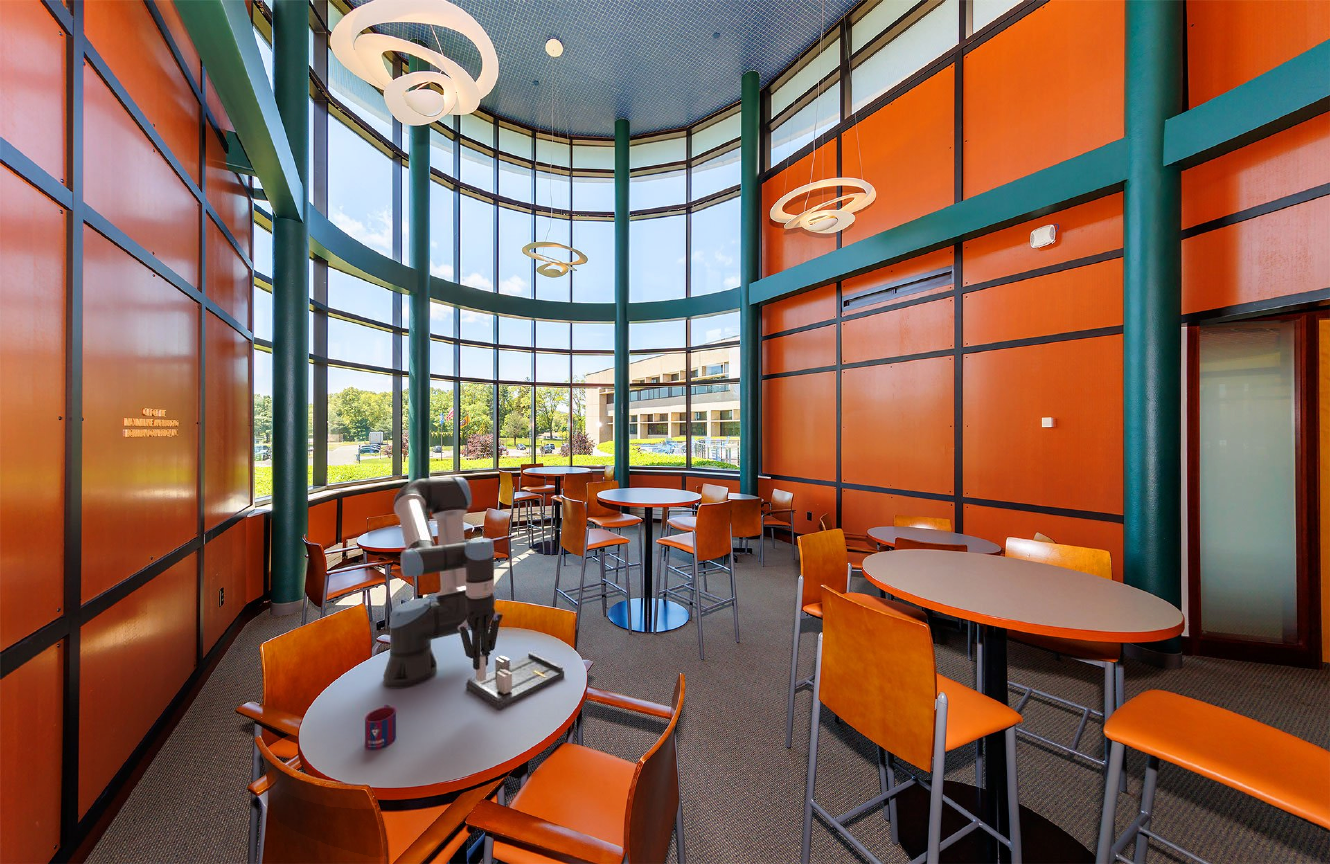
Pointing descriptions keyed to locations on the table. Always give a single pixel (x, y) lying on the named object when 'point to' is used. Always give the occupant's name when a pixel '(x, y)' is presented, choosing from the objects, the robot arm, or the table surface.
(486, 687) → the console
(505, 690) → the fader tab
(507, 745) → the table surface
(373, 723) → the mug
